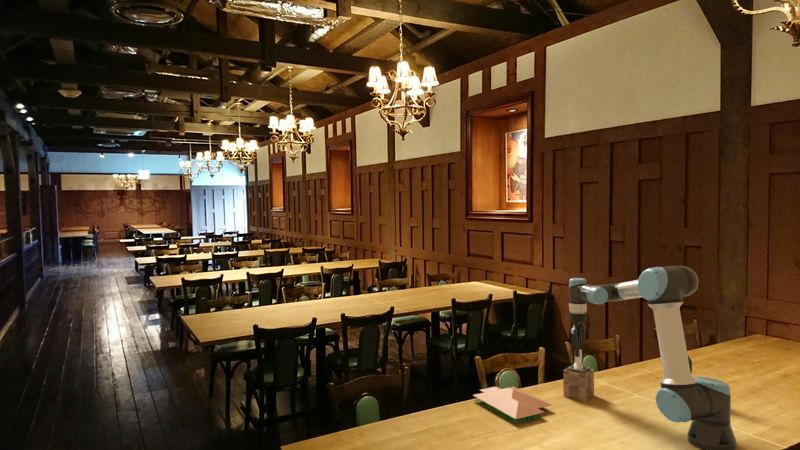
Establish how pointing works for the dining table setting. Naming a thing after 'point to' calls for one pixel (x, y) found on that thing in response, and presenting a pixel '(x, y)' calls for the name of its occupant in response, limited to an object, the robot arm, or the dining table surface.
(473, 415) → the dining table surface
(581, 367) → the peg
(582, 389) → the socket block
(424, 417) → the dining table surface
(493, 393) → the house
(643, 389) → the dining table surface
